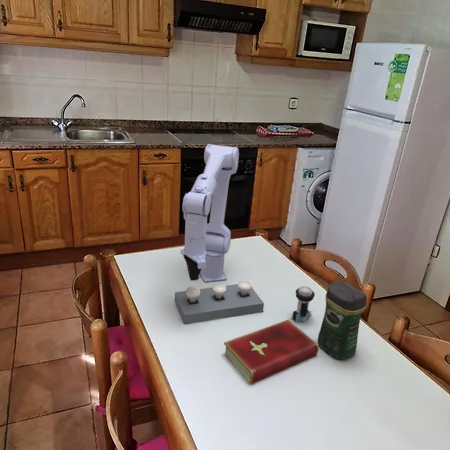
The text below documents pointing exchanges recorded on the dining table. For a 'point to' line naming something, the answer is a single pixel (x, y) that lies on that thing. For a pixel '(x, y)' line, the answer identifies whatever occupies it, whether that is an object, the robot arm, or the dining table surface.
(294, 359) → the hardcover book
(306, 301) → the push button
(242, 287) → the knob
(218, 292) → the knob middle
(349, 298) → the coffee jar
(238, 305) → the knob panel
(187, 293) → the knob
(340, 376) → the dining table surface
